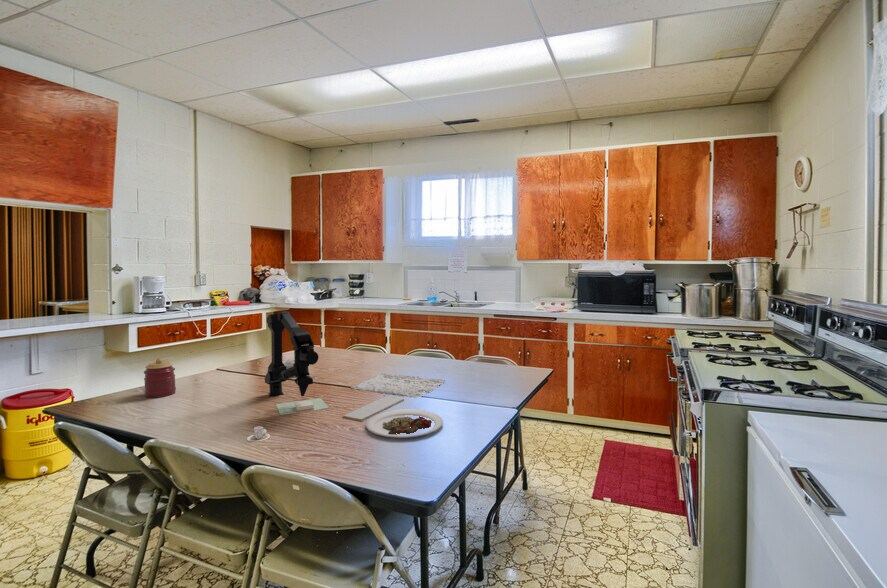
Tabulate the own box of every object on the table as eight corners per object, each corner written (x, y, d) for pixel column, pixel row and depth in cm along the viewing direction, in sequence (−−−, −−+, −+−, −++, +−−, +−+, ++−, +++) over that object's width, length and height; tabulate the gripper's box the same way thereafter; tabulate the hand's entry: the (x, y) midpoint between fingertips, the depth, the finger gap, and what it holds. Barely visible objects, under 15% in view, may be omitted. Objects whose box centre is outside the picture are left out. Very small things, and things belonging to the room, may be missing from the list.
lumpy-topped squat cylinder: (309, 374, 261) (309, 359, 261) (291, 379, 250) (290, 363, 250) (296, 371, 267) (296, 357, 266) (278, 376, 256) (278, 361, 255)
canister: (149, 391, 227) (147, 356, 226) (178, 389, 231) (177, 354, 230) (141, 399, 215) (139, 362, 214) (172, 396, 219) (170, 360, 218)
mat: (275, 405, 205) (275, 404, 205) (321, 399, 214) (321, 398, 214) (280, 416, 191) (280, 414, 191) (328, 408, 200) (328, 407, 200)
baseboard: (338, 418, 191) (361, 423, 185) (338, 411, 190) (361, 415, 185) (383, 398, 218) (404, 401, 212) (383, 392, 217) (404, 395, 212)
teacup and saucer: (260, 432, 174) (259, 422, 174) (276, 435, 171) (276, 424, 171) (242, 441, 166) (241, 430, 166) (258, 444, 163) (258, 433, 163)
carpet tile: (445, 383, 243) (445, 379, 243) (420, 399, 215) (420, 395, 215) (381, 376, 259) (381, 372, 259) (350, 390, 231) (350, 386, 231)
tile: (294, 402, 201) (297, 407, 195) (310, 400, 204) (313, 404, 198) (294, 407, 201) (297, 411, 195) (310, 404, 204) (313, 409, 198)
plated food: (355, 421, 185) (355, 413, 185) (421, 409, 200) (421, 401, 200) (383, 448, 159) (383, 438, 159) (457, 431, 174) (457, 423, 174)
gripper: (279, 358, 204) (280, 393, 205) (285, 367, 187) (286, 404, 189) (304, 356, 209) (305, 389, 210) (312, 364, 192) (313, 400, 194)
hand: (302, 396), depth 201 cm, fingers closed
